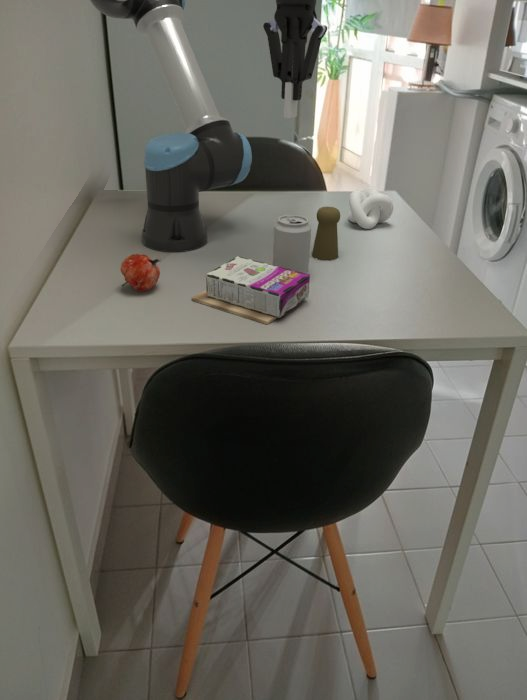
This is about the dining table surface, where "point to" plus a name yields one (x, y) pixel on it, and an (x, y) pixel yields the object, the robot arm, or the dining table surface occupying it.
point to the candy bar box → (258, 286)
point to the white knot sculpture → (369, 207)
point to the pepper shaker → (326, 234)
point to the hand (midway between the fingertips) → (290, 117)
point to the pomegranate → (140, 271)
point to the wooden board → (233, 308)
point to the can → (292, 243)
